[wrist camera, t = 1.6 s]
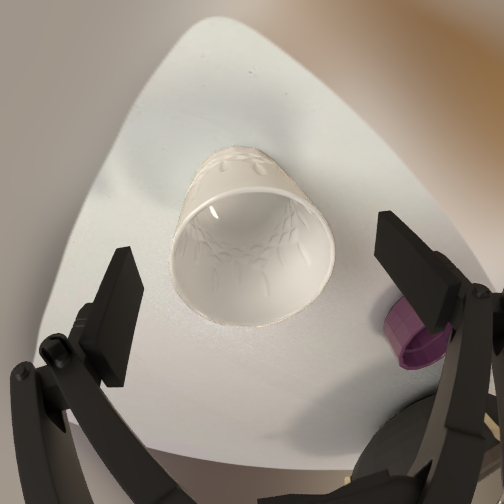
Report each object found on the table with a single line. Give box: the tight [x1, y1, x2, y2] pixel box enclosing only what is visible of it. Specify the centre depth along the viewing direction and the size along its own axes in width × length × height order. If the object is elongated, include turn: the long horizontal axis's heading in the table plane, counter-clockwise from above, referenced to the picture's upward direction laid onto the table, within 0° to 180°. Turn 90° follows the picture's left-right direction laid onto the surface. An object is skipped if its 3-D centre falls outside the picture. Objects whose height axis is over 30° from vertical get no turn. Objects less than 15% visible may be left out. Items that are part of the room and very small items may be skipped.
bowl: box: [344, 393, 501, 485], centre depth 41 cm, size 35×35×20 cm
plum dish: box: [383, 296, 452, 370], centre depth 31 cm, size 9×9×5 cm
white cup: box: [169, 146, 335, 328], centre depth 19 cm, size 8×8×10 cm
